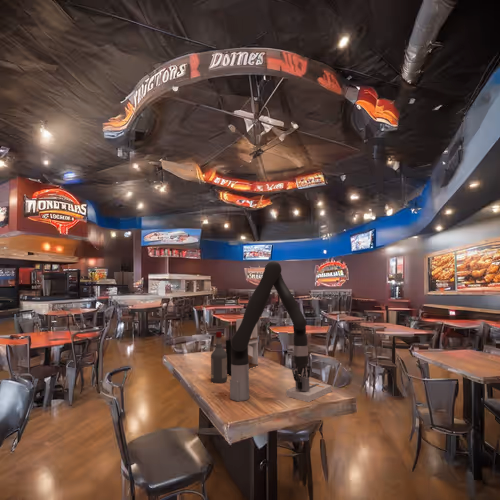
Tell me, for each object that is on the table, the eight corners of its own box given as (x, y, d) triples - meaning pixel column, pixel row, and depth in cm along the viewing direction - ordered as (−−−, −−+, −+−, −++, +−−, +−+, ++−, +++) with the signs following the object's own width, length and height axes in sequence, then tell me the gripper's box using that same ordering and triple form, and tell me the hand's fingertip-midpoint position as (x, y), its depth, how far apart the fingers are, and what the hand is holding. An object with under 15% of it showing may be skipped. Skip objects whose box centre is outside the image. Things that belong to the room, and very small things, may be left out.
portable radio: (232, 372, 213) (232, 335, 217) (239, 373, 210) (238, 335, 213) (224, 374, 207) (224, 336, 211) (231, 375, 204) (230, 337, 207)
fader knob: (305, 391, 157) (304, 378, 158) (295, 389, 161) (295, 376, 162) (309, 389, 160) (309, 377, 161) (300, 387, 164) (299, 375, 165)
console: (308, 402, 152) (308, 395, 152) (286, 396, 161) (286, 389, 162) (331, 391, 167) (331, 385, 167) (310, 386, 177) (309, 380, 177)
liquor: (227, 379, 196) (227, 331, 200) (225, 383, 187) (224, 332, 191) (213, 379, 197) (213, 331, 201) (210, 383, 188) (210, 332, 192)
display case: (237, 367, 225) (236, 319, 230) (246, 365, 234) (245, 318, 239) (249, 369, 219) (248, 319, 224) (258, 366, 227) (256, 318, 232)
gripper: (303, 351, 171) (304, 383, 168) (287, 355, 161) (288, 390, 158) (314, 352, 165) (316, 386, 163) (298, 357, 155) (300, 393, 153)
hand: (302, 388), depth 160 cm, fingers closed on fader knob, 4 cm apart
